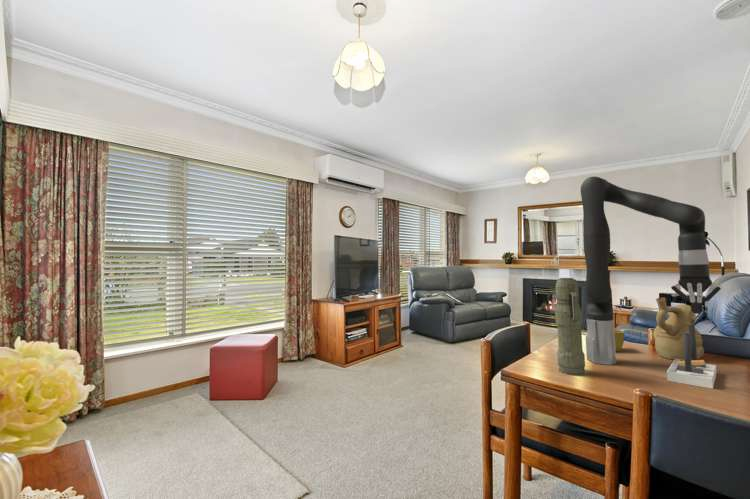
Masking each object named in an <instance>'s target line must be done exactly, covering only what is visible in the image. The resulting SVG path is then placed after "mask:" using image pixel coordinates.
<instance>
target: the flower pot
mask: <svg viewBox="0 0 750 499" xmlns="http://www.w3.org/2000/svg"><path fill="white" fill-rule="evenodd" d="M614 335H615V350H616V352H619V351H621V349H622V348H623V345H624V341H625V332H624V331H621V330H619V329H617V328H614Z"/></svg>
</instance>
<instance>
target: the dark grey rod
mask: <svg viewBox="0 0 750 499" xmlns="http://www.w3.org/2000/svg"><path fill="white" fill-rule="evenodd" d="M695 328H696V326H695V325H694V324H693V325H689V337H690V350H691V360H698V359H697V351H696V337H695Z"/></svg>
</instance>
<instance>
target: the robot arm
mask: <svg viewBox="0 0 750 499" xmlns="http://www.w3.org/2000/svg"><path fill="white" fill-rule="evenodd" d="M580 197H581V203H582V211H583V214H582V215H583V216H582V218H583V219H582V221H583V223H582V224H583V227H582V229H583V232H582V233H583V237H582V238H583V240H582V241H583V243H582V244H583V253H584V261H585V266H586V277H585V286H584V295H585V310H586V311H585V315H586V316H585V317H586V329H587V333H586V334H587V335H586V336H585V350H586V360H588V361H589V362H591V363H593V364H598V365H599V364H601V365H616V364H617V353H616V352H617V351H616V350H615V335H614V329H615V325H614V324H615V322H614V321H615V320H614V306H613V293H612V292H613V291H612V290H613V289H612V287H611V282H610V275H609V273H610V272H609V264H610V263H609V262H610V255H611V231H610V226H609V224H608V220H607V217H606V214H605V206H604V205H605V202H606V203H612V204H617V205H620V206H623V207H625V208H629V209H631V210H634V211H636V212H640V213H642V214H646V215H649V216H651V217H655V218H660V219H664V220H666V221H668V222H669V221H670V222H672V223H675V224H677V225H678V228H679V230H678V231H679V235H678V237H677V247H678V257H677V258H678V260H677V261H678V270H679V271H678V273H679V279H678V281H677V282H678V283H676V284H675V285H672V286H671V288H670V289H671V290H672V291H674V292H675V294H676V295H678V296H679V298H681V299H682V300H683V301H685V302H689V303H690V306H691V311H692V312H694V314H696V315H700V314H701V313H703V311H704V309H703V303H705V302H706V303H707V302H709V301H710V300H711V299H712V298H713V297H714V296H715V295H717V293H719V292H720V290H722V287H721V286H718V285H717V284H714V283H713V281H712V280H711V277H710V265H709V264H710V260H709V255H708V253H707V252H708V251H707V241H706V234H705V230H706V215H705V212H704V210H702V208H700V207H697V206H695V205H692V204H689V203H688V204H687V203H683V202H680V201H679V202H677V201H674V200H673V201H672V200H671V199H667V198H666V197H665V198H664V197H662V196H657V195H654V194H650V193H645V192H640V191H634V190H630V189H626V188H623V187H620V186H618V185H616V184H613V183H612V182H610V181H608V180H606V179H604V178H602V177H600V176H590V177H587V178H586V179H584V180H583V182H582V183H581V186H580ZM709 288H710V291H711V292H710V293H709V294H707V295H706V296H705V297H704V292H706V291H707V290H708V289H709ZM682 289H683V290H684V291H685V292H687V293H688V296H687V294H685V293H684V291H682ZM695 293H696V294H695Z"/></svg>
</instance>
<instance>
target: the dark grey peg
mask: <svg viewBox="0 0 750 499" xmlns="http://www.w3.org/2000/svg"><path fill="white" fill-rule="evenodd" d="M683 345H684V359H685V371H687V372H692V365H691V352H690V338H689V333H687V332H684V333H683Z"/></svg>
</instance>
